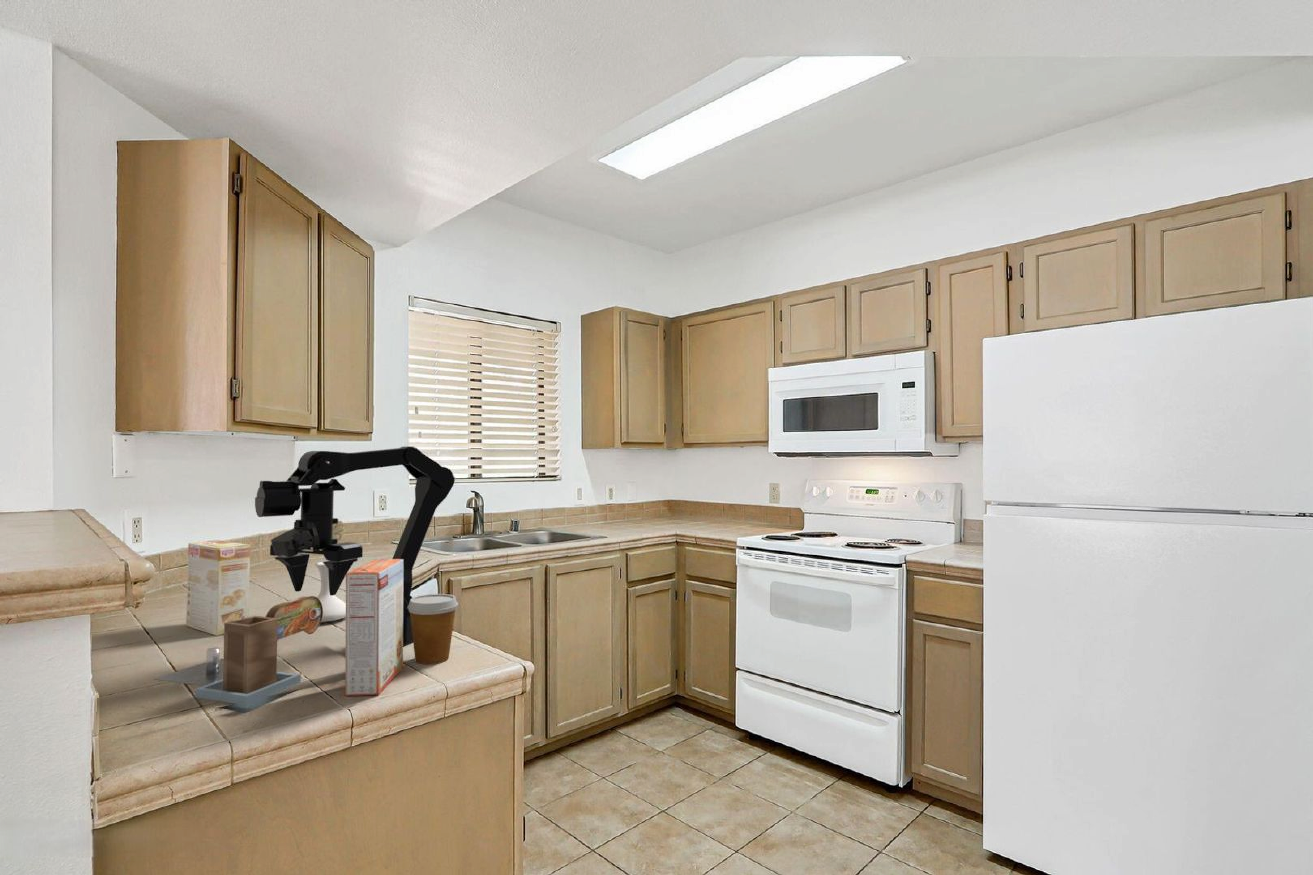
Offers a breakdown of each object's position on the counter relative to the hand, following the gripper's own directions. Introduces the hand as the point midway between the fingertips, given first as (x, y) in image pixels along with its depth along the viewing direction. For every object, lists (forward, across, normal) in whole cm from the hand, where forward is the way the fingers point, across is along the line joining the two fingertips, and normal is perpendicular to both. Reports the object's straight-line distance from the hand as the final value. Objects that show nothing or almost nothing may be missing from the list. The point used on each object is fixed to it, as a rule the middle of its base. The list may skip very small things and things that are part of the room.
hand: (315, 593), depth 128 cm
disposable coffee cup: (+13, +21, +9) cm, 27 cm away
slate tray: (+13, +7, -18) cm, 23 cm away
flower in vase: (+13, -22, +23) cm, 35 cm away
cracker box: (+13, +20, -5) cm, 25 cm away
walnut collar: (+12, +7, -18) cm, 23 cm away
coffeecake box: (+13, -40, +9) cm, 43 cm away
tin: (+13, -17, +10) cm, 24 cm away
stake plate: (+13, -8, -15) cm, 21 cm away
